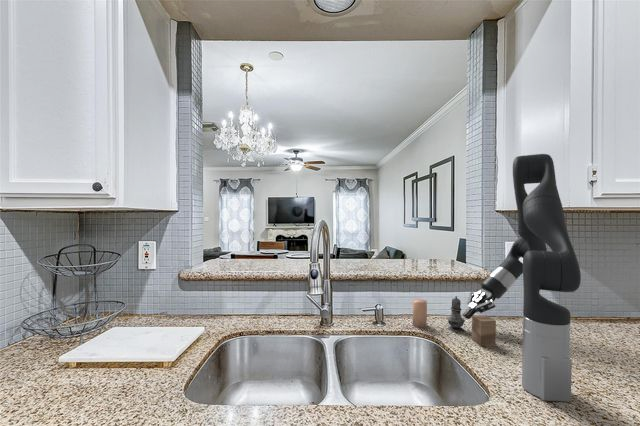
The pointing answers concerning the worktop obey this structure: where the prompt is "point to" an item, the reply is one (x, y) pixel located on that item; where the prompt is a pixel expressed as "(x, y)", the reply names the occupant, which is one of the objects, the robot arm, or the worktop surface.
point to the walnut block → (484, 330)
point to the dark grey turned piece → (456, 316)
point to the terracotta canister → (419, 313)
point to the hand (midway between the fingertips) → (465, 317)
